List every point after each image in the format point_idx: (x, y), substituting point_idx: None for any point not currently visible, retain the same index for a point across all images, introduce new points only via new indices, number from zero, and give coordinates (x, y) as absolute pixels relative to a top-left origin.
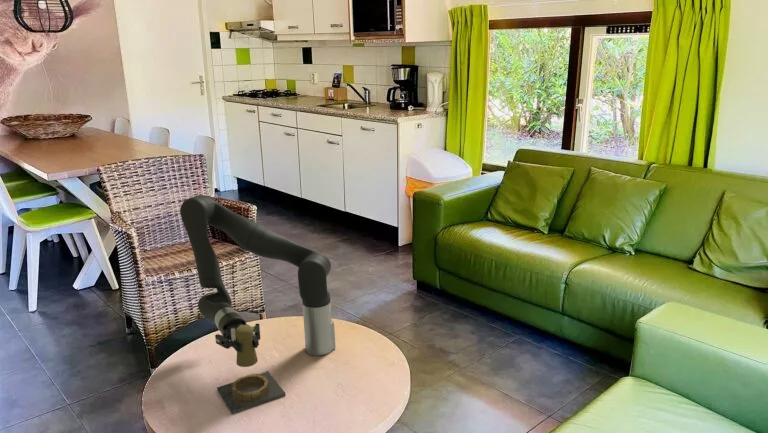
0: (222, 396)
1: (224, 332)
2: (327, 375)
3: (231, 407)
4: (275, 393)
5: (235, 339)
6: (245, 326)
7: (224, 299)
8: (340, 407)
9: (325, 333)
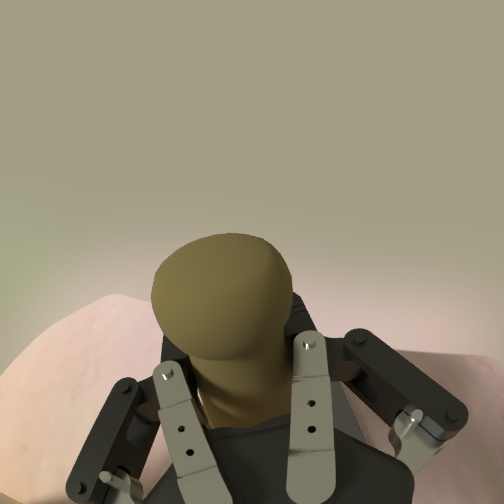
0: (365, 442)
1: (398, 470)
2: (70, 436)
3: (335, 388)
4: (206, 414)
5: (297, 339)
6: (193, 257)
7: None
8: (118, 337)
9: None
